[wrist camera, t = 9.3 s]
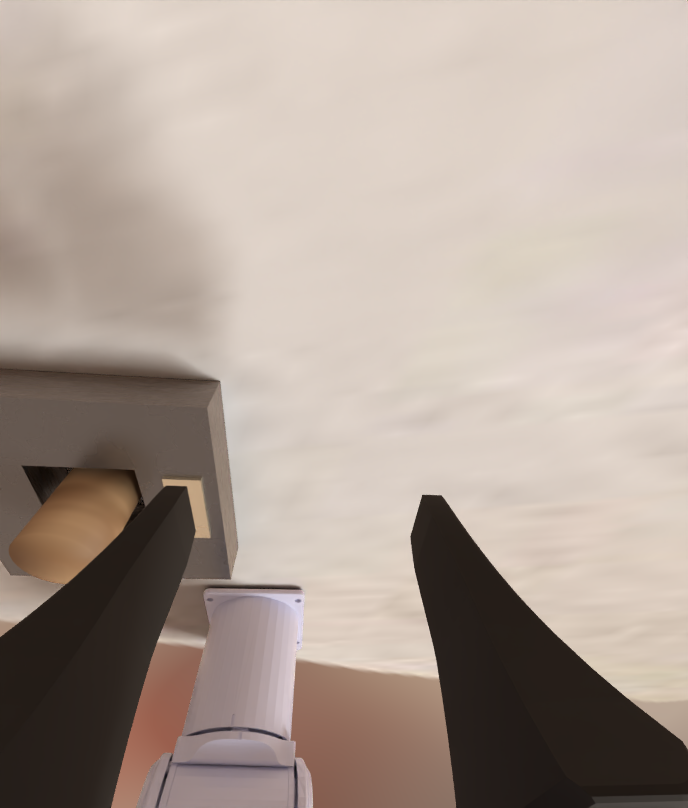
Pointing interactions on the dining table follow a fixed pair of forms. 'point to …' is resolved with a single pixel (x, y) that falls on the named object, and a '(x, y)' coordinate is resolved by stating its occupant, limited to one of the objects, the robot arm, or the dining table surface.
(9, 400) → the plate
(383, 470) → the dining table surface
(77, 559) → the peg
